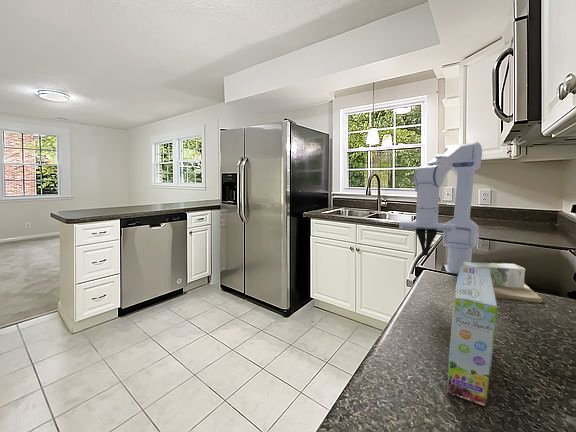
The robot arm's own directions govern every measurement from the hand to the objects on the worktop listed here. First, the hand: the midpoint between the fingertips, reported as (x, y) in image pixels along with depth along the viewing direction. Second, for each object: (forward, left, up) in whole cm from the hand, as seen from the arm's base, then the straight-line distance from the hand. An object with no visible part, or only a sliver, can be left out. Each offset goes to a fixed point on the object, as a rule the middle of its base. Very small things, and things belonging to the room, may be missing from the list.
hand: (425, 254), depth 85 cm
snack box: (+36, +6, -11) cm, 38 cm away
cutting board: (-8, +21, -10) cm, 25 cm away
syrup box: (-9, +12, -7) cm, 16 cm away
